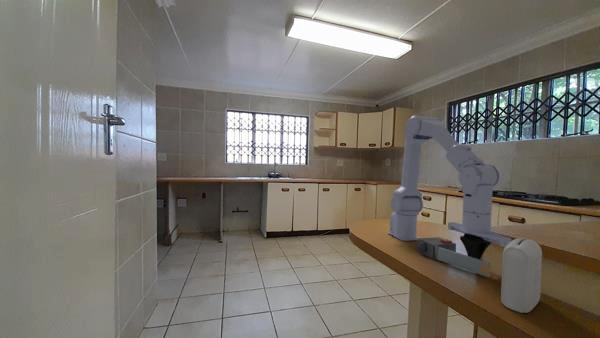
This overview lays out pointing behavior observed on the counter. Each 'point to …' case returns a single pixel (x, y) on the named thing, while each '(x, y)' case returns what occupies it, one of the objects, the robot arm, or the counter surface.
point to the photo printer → (521, 275)
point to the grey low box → (428, 245)
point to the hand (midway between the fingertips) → (474, 265)
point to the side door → (463, 261)
